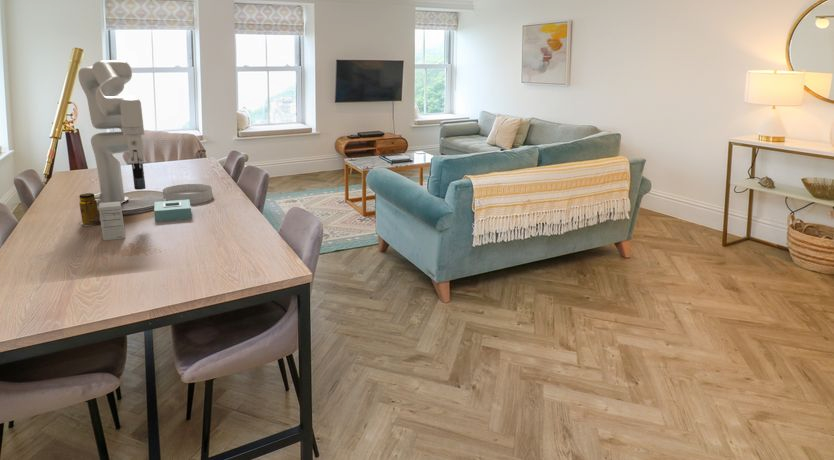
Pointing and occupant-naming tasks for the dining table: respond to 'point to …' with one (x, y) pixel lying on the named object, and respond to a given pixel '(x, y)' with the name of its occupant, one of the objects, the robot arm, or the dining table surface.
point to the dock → (172, 210)
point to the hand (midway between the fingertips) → (138, 176)
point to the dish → (188, 193)
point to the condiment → (89, 210)
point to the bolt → (139, 182)
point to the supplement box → (111, 220)
